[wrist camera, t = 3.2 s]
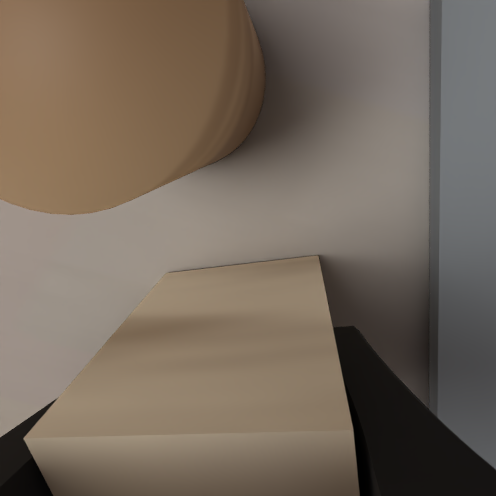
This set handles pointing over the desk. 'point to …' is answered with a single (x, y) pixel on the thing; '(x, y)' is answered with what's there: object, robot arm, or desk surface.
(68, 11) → the oak cylinder
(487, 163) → the mat
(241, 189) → the desk surface
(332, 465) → the maple block
